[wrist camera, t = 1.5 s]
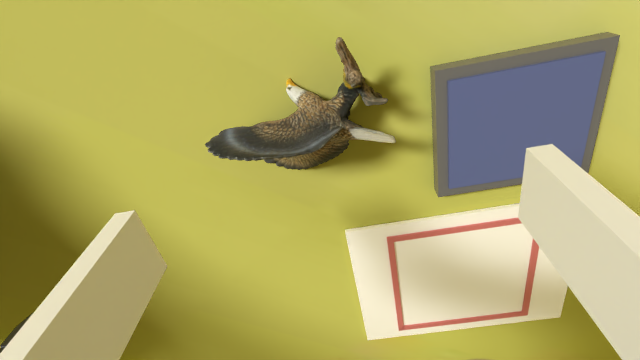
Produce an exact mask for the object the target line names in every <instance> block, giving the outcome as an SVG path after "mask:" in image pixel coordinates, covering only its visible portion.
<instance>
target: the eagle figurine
mask: <svg viewBox="0 0 640 360" xmlns="http://www.w3.org/2000/svg"><path fill="white" fill-rule="evenodd" d="M336 50H337V52H338V54H339V56H340V58H341V62H342V63H343V64H344V69H343V71H344V75H343V80H344V82H343V83H342V84H341V86H340V87H339V89H338V93H337V95H336V96H335V97H333V98H332V99H331V100H329V101H325V100H324V99H322V98H321V97H320V96H318V95H317V94H315V93H313V92H309V91H307V90H304V89H302V88H300V87H298V86H297V85H295V84H294V83H293V82H292V80H291V79H290V78H289V79H287V88H286V91H287V93H288V95H289V97H290V98H291V99H292V101H293V102H294V103H295V104H296V105H297V106H298V107H299V108H298V109H297V111H296V112H294V113H293V114H291V115H290V116H289V117H286V118H284V119H281V120H277V121H267V122H262V123H259V124H256V125H254V126H251V127H235V128H229V129H225V130H223V131H221V132H220V133H219V135H217V136H215V137H213V138H212V139H211V140H210V141H209V142H207V143H206V144H205V146H206V147H208V148H209V149H208V152H210V153H213V155H214V156H218V155H219V158H228V159H230V160H233V159H236V160H246V161H251V160H262V159H264V161H265V162H266V163H276V165H277V166H279V167H280V166H284V167H285V168H287V169H298V170H300V169H308V168H310V167H314V166H317V165H319V164H322V163H324V162H327V161H328V160H329V159H333V158H335V157H336V156H338V155H339V154H340V153H343V151H344V150H345V149H347V147H348V145H349V143H348V142H349V140H356V139H359V140H369V141H377V142H386V143H395V142H396V140H395V137H394V136H392V135H389V134H385V133H383V132H381V131H376V130H371V129H367V128H363V127H362V126H361V125H357V124H355V123H354V122H352V121H350V120H348V116H349V115H350V109H351V107H352V105H353V103H354V102H355V100H356V98H357V97H358V96H359V94H360V95H361V97H362V99H363V101H364V103H365V104H366V105H367V106H370V105H382V104H385V103H387V102H388V99H387V98H382V95H381V94H380V93H376V92H374V90H373V89H372V88H371V87H369V86H368V85H367V84H366V83H365V79H364V77H362V74H361V72H360V69H359V67H358V65H357V63H356V61H355V59H354V58H353V56H352V55H351V53H350V52H349V50H348V48H347V46H346V44H345V42H344V41H343V39H342V38H340V37H338V38H337V40H336Z"/></svg>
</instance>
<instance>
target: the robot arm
mask: <svg viewBox="0 0 640 360" xmlns="http://www.w3.org/2000/svg"><path fill="white" fill-rule="evenodd" d="M518 218H519V220H520V221H521V222H522V224H523V225H524V226H525V228H526V229H527V230H528V232H529V233H530V235H531V236H532V237H533V239H534V240H535V241H536V243H537V244H538V246H539V247H540V248H541V250H542V251H543V252H544V254H545V255H546V256H547V258H548V259H549V261H550V262H551V263H552V265H553V266H554V267H555V269H556V270H557V271H558V273H559V274H560V276H561V277H562V278H563V280H564V281H565V282H566V284H567V285H568V286H569V288H570V289H571V291H572V292H573V293H574V295H575V296H576V297H577V299H578V300H579V302H580V303H581V304H582V306H583V307H584V308H585V310H586V311H587V312H588V314H589V315H590V317H591V318H592V319H593V321H594V322H595V323H596V325H597V326H598V327H599V329H600V330H601V332H602V333H603V334H604V336H605V337H606V338H607V340H608V341H609V342H610V344H611V345H612V347H613V348H614V349H615V351H616V352H617V353H618V355H619V356H620V358H621V359H622V360H640V217H639V216H638V215H637V214H636V213H635V212H633V211H632V210H631V209H630V208H629V207H627V206H626V205H625V204H624V203H623V202H621V201H620V200H619V199H618V198H617V197H615V196H614V195H613V194H612V193H611V192H609V191H608V190H607V189H606V188H605V187H603V186H602V185H601V184H600V183H599V182H597V181H596V180H595V179H594V178H593V177H591V176H590V175H589V174H588V173H587V172H585V171H584V170H583V169H582V168H581V167H579V166H578V165H577V164H576V163H575V162H573V161H572V160H571V159H570V158H569V157H567V156H566V155H565V154H564V153H563V152H561V151H560V150H559V149H558V148H557V147H555V146H554V145H553V144H549V145H543V146H536V147H530V148H526V154H525V163H524V171H523V180H522V188H521V197H520V206H519V214H518ZM166 268H167V265H166V263H165V261H164V260H163V258H162V256H161V254H160V253H159V251H158V249H157V248H156V246H155V244H154V242H153V241H152V239H151V237H150V235H149V234H148V232H147V230H146V229H145V227H144V225H143V223H142V222H141V220H140V218H139V217H138V215H137V213H136V211H135V210H134V211H128V212H122V213H115V214H114V215H113V217H112V218H111V219H110V220H109V221H108V223H107V224H106V225H105V226H104V228H103V229H102V230H101V231H100V232H99V234H98V235H97V236H96V237H95V239H94V240H93V241H92V242H91V243H90V245H89V246H88V247H87V248H86V249H85V251H84V252H83V253H82V254H81V256H80V257H79V258H78V259H77V260H76V262H75V263H74V264H73V265H72V267H71V268H70V269H69V270H68V271H67V273H66V274H65V275H64V276H63V278H62V279H61V280H60V281H59V282H58V284H57V285H56V286H55V287H54V289H53V290H52V291H51V292H50V293H49V295H48V296H47V297H46V298H45V300H44V301H43V302H42V303H41V304H40V306H39V307H38V308H37V309H36V310H35V311H34V312H33V313H32V314H31V315H30V316H28V317H27V318H26V319H25V320H24V321H23V322H21V323H20V324H19V325H18V326H17V327H15V329H14V330H13V331H12V332H11V333H10V335H9V336H8V337H7V338H6V339H5V341H4V342H3V343H2V344H1V345H0V346H1V348H0V360H120V358H121V356H122V354H123V352H124V350H125V348H126V346H127V344H128V342H129V340H130V338H131V336H132V334H133V332H134V330H135V328H136V326H137V324H138V322H139V320H140V319H141V317H142V315H143V313H144V311H145V309H146V307H147V305H148V303H149V301H150V299H151V297H152V295H153V293H154V291H155V289H156V287H157V285H158V283H159V281H160V280H161V278H162V276H163V274H164V272H165V270H166Z"/></svg>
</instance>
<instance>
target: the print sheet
mask: <svg viewBox="0 0 640 360" xmlns="http://www.w3.org/2000/svg"><path fill="white" fill-rule="evenodd" d="M519 206H520V203H518V204H511V205H505V206H498V207H492V208H485V209H478V210H472V211H465V212H459V213H452V214H446V215H439V216H432V217H426V218H419V219H413V220H406V221H399V222H393V223H386V224H380V225H373V226H366V227H360V228H353V229H347V230H345V233H346V238H347V242H348V247H349V252H350V257H351V262H352V267H353V271H354V276H355V281H356V286H357V291H358V296H359V300H360V305H361V310H362V315H363V320H364V325H365V329H366V334H367V339H368V340H373V339H382V338H390V337H398V336H407V335H415V334H424V333H432V332H440V331H449V330H457V329H466V328H474V327H482V326H491V325H499V324H507V323H516V322H524V321H533V320H541V319H549V318H558V317H560V316H561V312H562V308H563V304H564V300H565V296H566V291H567V287H568V285H567V284H566V282H565V281H564V280H563V278H562V277H561V276H560V274H559V273H558V271H557V270H556V269H555V267H554V266H553V265H552V263H551V262H550V261H549V259H548V258H547V256H546V255H545V254H544V252H543V251H542V250H541V248H540V247H539V246H538V244H537V243H536V241H535V240H534V239H533V237H532V236H531V235H530V233H529V232H528V230H527V229H526V228H525V226H524V225H523V224H522V222H521V221H520V220H519V218H518V214H519Z"/></svg>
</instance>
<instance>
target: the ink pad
mask: <svg viewBox="0 0 640 360" xmlns="http://www.w3.org/2000/svg"><path fill="white" fill-rule="evenodd" d="M619 37H620V35H617V34H613V33H609V32H606V33H600V34H595V35H590V36H585V37H580V38H575V39H569V40H564V41H559V42H554V43H549V44H544V45H539V46H533V47H528V48H523V49H518V50H513V51H508V52H502V53H497V54H492V55H487V56H482V57H477V58H472V59H466V60H461V61H456V62H451V63H446V64H441V65H435V66H430V70H431V100H432V129H433V159H434V188H435V191H436V193H437V195H438V197H442V196H449V195H455V194H461V193H468V192H474V191H481V190H487V189H493V188H500V187H506V186H512V185H519V184H522V180H523V171H524V163H525V154H526V148H530V147H536V146H543V145H549V144H553V145H554V146H555V147H557V148H558V149H559V150H560V151H561V152H563V153H564V154H565V155H566V156H567V157H569V158H570V159H571V160H572V161H573V162H575V163H576V164H577V165H578V166H579V167H581V168H582V169H583V170H584V171H585V172H587V173H588V172H589V167H590V163H591V159H592V154H593V150H594V146H595V141H596V137H597V133H598V128H599V124H600V120H601V115H602V111H603V107H604V102H605V98H606V94H607V89H608V85H609V81H610V76H611V72H612V68H613V63H614V59H615V55H616V50H617V46H618V42H619Z"/></svg>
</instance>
